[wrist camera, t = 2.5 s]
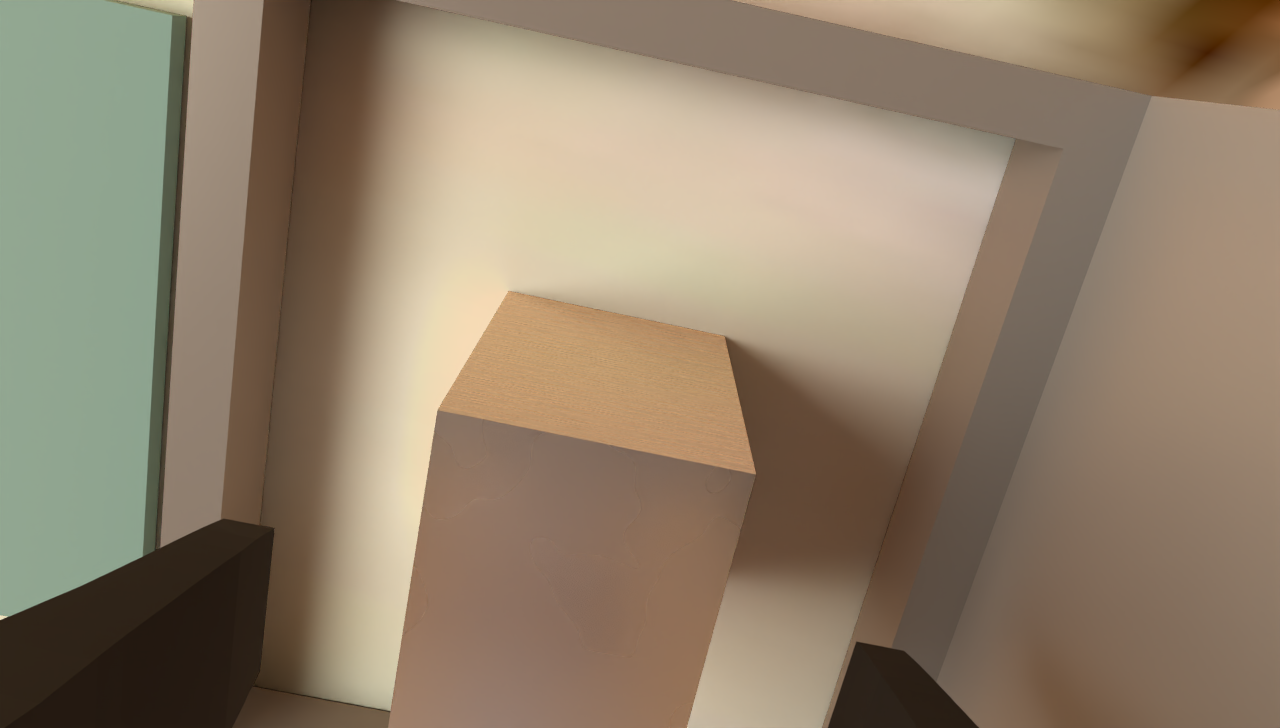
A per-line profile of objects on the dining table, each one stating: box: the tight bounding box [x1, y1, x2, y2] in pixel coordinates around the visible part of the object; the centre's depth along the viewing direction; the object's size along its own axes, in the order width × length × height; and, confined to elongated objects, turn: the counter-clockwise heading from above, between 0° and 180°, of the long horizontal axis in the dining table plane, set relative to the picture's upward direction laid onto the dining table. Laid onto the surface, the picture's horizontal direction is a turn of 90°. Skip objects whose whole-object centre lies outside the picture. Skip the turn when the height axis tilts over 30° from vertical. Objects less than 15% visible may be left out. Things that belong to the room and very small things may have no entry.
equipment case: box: [160, 0, 1280, 728], centre depth 14 cm, size 16×15×9 cm
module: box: [388, 291, 756, 728], centre depth 16 cm, size 5×4×6 cm
